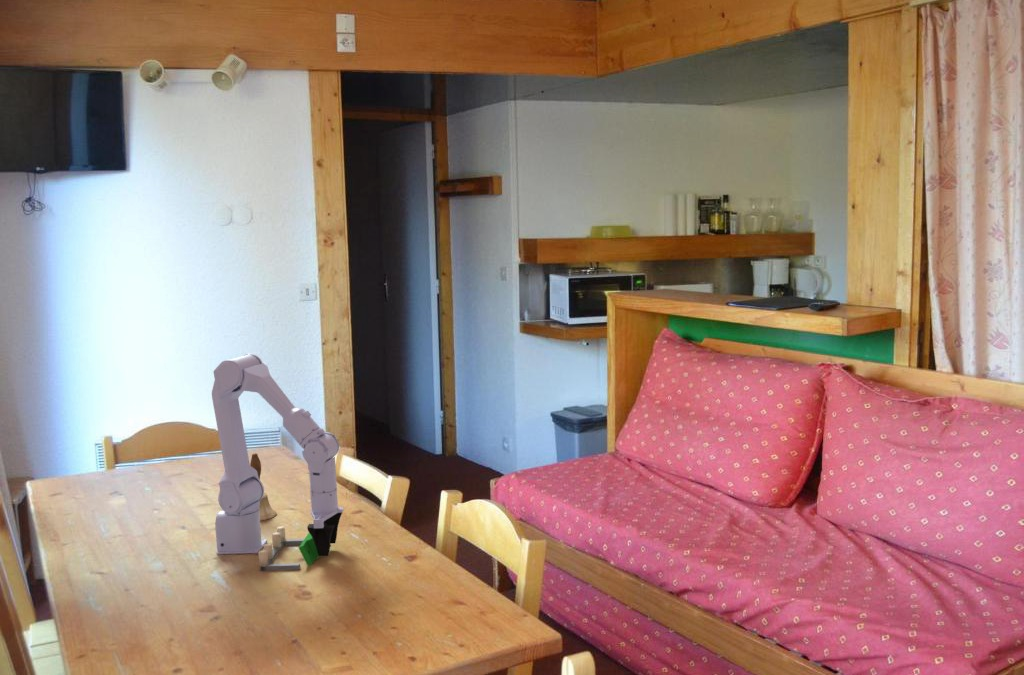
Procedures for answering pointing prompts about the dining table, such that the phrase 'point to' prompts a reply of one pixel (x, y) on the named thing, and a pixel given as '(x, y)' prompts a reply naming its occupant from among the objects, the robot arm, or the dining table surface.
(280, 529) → the peg cradle
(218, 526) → the robot arm
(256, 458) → the hand bell
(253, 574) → the dining table surface
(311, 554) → the pipe clamp
